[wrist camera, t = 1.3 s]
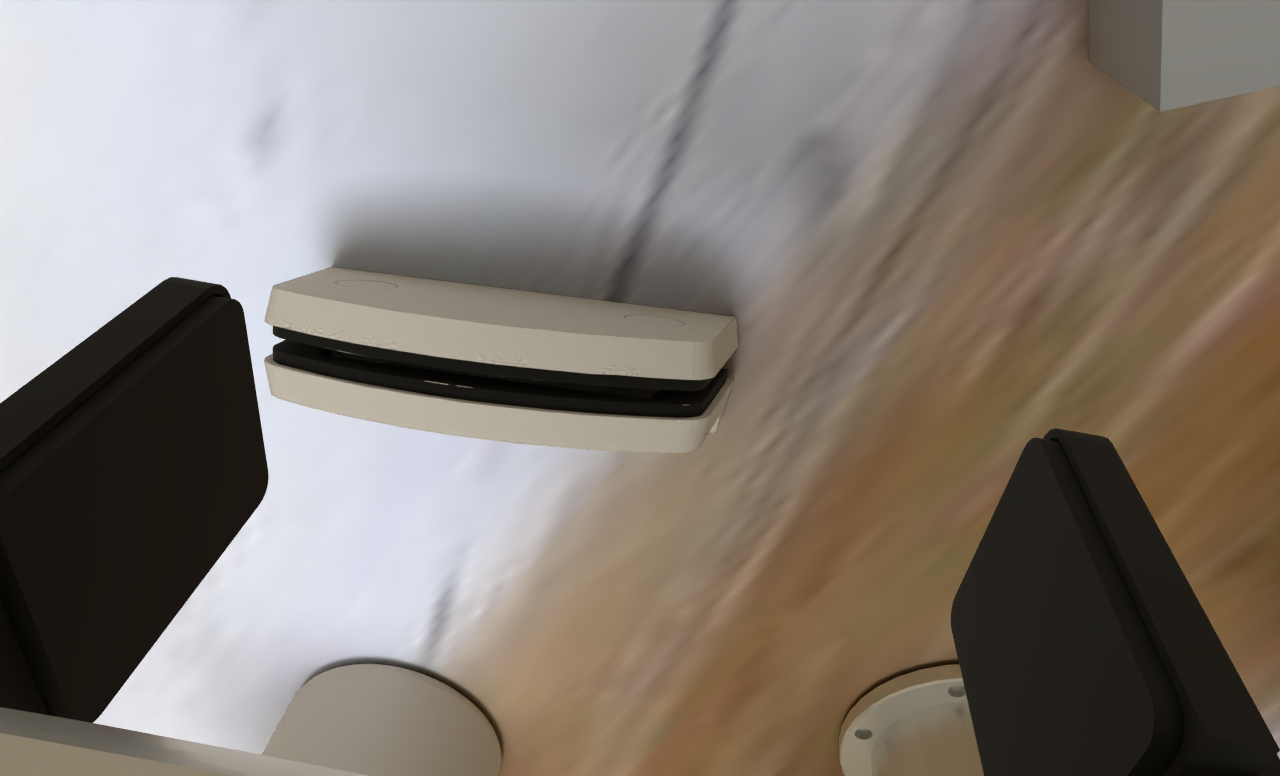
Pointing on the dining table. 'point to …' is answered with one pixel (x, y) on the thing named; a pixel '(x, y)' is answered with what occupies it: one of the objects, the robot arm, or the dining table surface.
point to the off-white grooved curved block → (500, 361)
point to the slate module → (1186, 47)
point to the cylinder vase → (386, 725)
